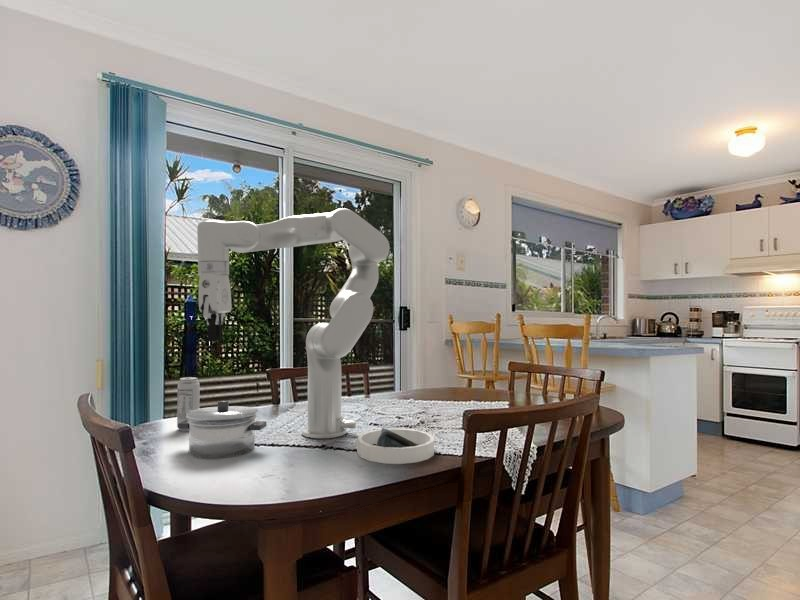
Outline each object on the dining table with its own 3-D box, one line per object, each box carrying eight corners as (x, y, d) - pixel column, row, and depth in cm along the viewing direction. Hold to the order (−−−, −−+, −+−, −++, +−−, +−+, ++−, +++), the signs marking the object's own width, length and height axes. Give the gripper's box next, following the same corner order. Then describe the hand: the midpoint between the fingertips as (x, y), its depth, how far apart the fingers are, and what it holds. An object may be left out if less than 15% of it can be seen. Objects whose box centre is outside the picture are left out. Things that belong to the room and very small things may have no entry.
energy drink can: (203, 427, 148) (204, 377, 148) (188, 432, 143) (188, 380, 143) (188, 426, 150) (188, 376, 151) (172, 430, 145) (172, 379, 145)
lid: (268, 412, 135) (268, 397, 135) (241, 424, 117) (242, 407, 117) (207, 410, 136) (208, 396, 136) (172, 422, 118) (173, 405, 119)
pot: (275, 440, 135) (276, 410, 135) (250, 460, 117) (251, 426, 117) (200, 438, 137) (200, 409, 137) (164, 457, 119) (164, 424, 119)
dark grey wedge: (422, 452, 126) (388, 418, 127) (428, 452, 119) (393, 416, 120) (396, 482, 123) (362, 447, 124) (402, 483, 116) (365, 446, 117)
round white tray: (434, 442, 133) (434, 429, 133) (433, 464, 114) (433, 449, 114) (364, 440, 135) (364, 427, 135) (351, 462, 116) (351, 447, 116)
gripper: (215, 267, 121) (217, 342, 121) (239, 270, 136) (240, 337, 136) (185, 267, 121) (187, 343, 121) (212, 271, 136) (213, 338, 136)
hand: (215, 340), depth 129 cm, fingers closed
